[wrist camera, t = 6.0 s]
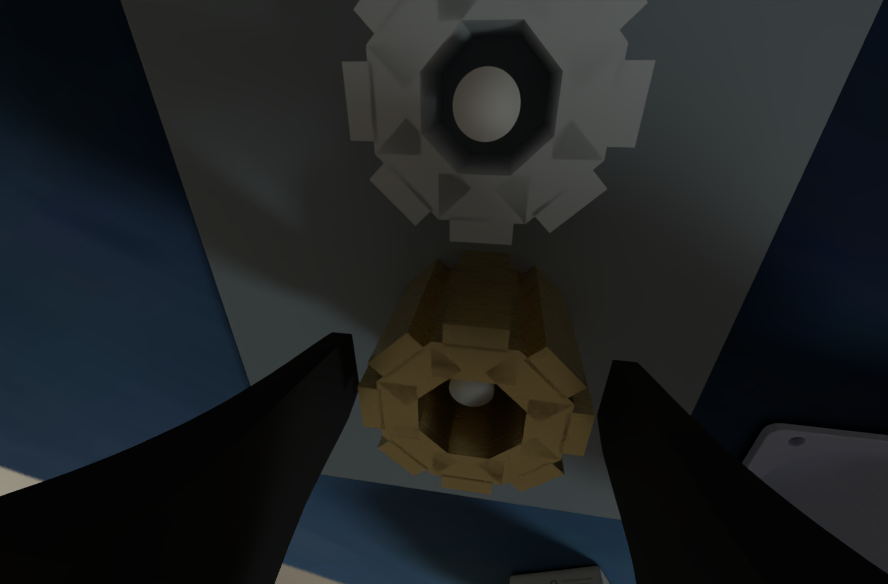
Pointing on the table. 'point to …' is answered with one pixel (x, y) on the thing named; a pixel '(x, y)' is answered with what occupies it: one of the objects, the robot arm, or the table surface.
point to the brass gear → (479, 377)
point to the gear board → (494, 171)
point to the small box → (563, 577)
